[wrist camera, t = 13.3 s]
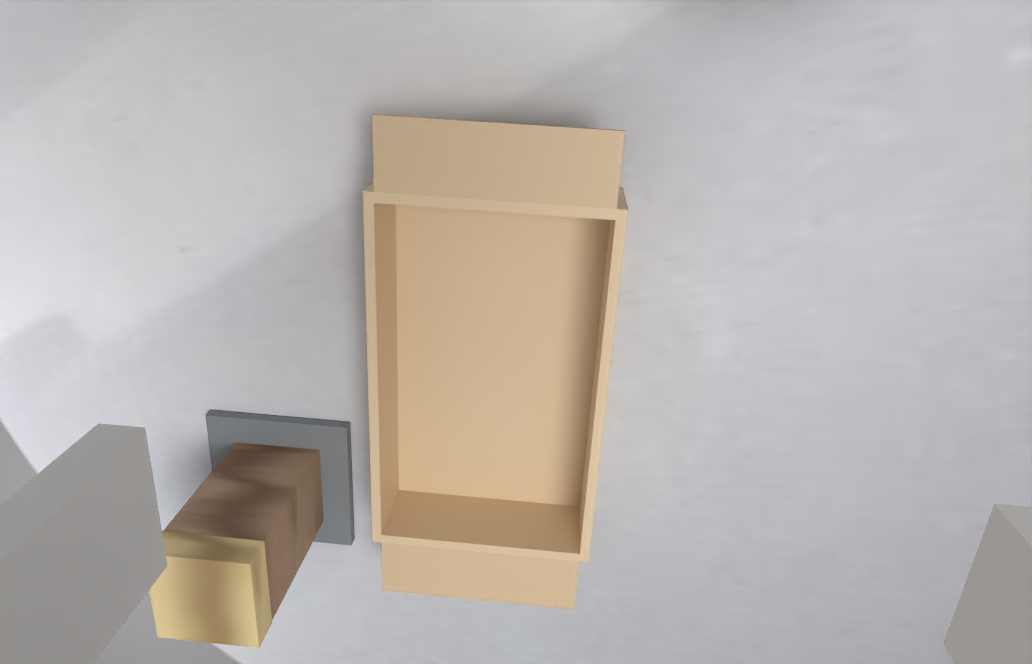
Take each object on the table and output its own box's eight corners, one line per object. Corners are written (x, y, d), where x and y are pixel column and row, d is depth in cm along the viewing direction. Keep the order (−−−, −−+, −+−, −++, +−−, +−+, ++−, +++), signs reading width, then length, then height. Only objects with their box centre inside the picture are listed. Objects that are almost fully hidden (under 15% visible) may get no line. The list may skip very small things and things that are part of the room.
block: (243, 513, 55) (157, 637, 44) (235, 441, 52) (143, 553, 41) (324, 520, 54) (259, 647, 43) (320, 449, 52) (250, 564, 41)
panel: (210, 410, 52) (205, 415, 52) (350, 422, 52) (346, 427, 51) (224, 525, 56) (220, 532, 56) (354, 538, 56) (351, 545, 55)
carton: (386, 103, 43) (360, 114, 38) (630, 119, 43) (637, 132, 37) (392, 537, 55) (373, 589, 50) (582, 555, 55) (582, 610, 50)
